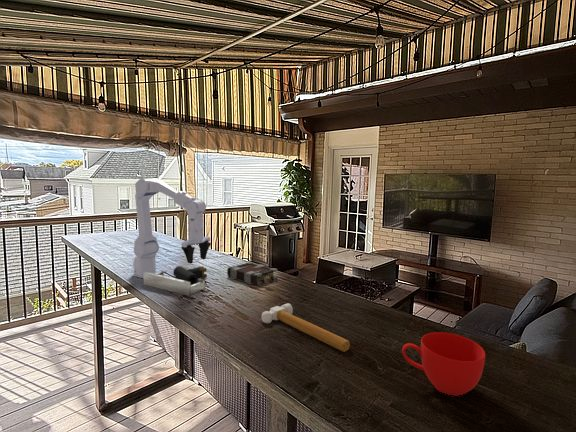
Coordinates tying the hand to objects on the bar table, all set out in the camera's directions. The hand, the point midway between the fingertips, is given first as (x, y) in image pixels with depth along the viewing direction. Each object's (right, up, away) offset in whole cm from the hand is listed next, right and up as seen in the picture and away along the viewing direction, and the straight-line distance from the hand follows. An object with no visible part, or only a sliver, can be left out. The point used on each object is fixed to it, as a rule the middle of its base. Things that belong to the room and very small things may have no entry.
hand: (196, 260), depth 142 cm
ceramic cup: (+73, -20, -65) cm, 100 cm away
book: (+25, -10, +9) cm, 28 cm away
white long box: (-8, -10, -2) cm, 13 cm away
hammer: (+44, -17, -40) cm, 62 cm away
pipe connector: (-4, -10, +7) cm, 12 cm away
